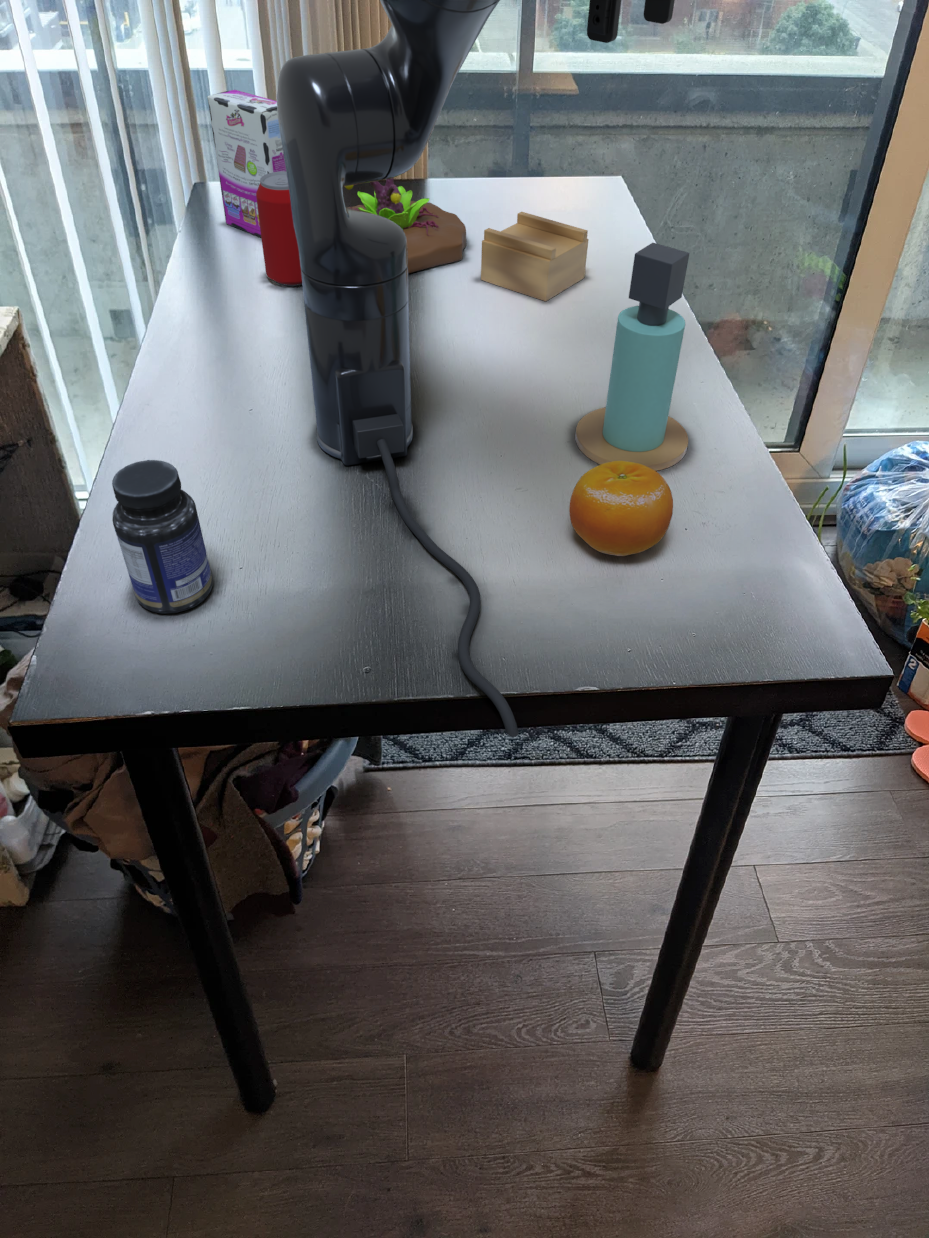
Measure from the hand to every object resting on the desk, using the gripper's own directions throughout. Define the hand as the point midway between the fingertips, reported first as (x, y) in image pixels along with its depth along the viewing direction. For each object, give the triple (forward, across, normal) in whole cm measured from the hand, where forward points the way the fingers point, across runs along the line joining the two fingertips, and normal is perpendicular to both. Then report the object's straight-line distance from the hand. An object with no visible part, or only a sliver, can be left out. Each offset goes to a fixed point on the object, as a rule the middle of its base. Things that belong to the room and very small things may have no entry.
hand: (630, 31), depth 73 cm
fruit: (+34, -15, -13) cm, 40 cm away
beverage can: (+35, +6, +47) cm, 59 cm away
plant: (+35, +22, +44) cm, 61 cm away
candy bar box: (+35, +15, +62) cm, 72 cm away
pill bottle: (+34, -43, +12) cm, 56 cm away
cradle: (+35, +25, +23) cm, 49 cm away
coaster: (+34, 0, -6) cm, 35 cm away
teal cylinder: (+24, 0, -6) cm, 25 cm away
